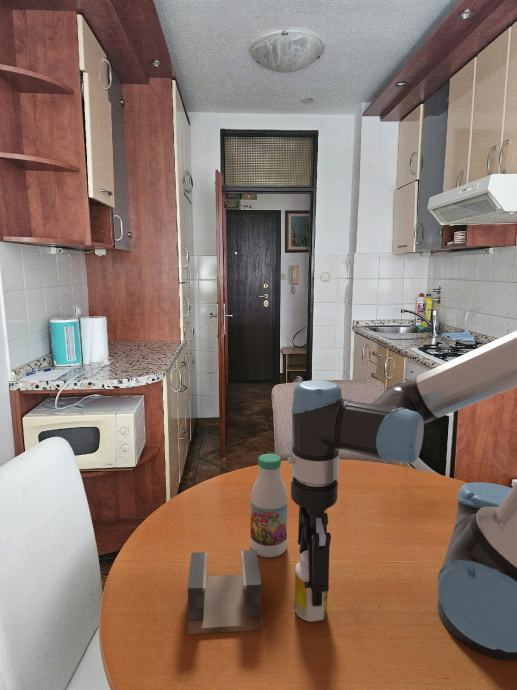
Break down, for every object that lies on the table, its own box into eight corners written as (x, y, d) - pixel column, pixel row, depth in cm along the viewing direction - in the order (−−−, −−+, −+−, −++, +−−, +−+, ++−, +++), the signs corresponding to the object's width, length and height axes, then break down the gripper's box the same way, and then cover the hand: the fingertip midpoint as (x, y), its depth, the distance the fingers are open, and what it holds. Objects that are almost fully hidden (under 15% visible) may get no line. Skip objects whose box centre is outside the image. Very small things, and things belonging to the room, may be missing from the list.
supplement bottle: (313, 629, 70) (314, 572, 68) (287, 610, 74) (288, 556, 72) (333, 611, 74) (335, 556, 72) (308, 593, 78) (309, 542, 76)
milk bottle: (251, 535, 95) (251, 449, 92) (286, 536, 95) (287, 450, 92) (249, 558, 88) (249, 465, 84) (287, 559, 87) (289, 466, 84)
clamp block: (256, 578, 82) (256, 544, 81) (262, 629, 70) (262, 591, 69) (192, 581, 81) (191, 547, 80) (187, 634, 69) (186, 595, 68)
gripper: (283, 453, 79) (281, 568, 83) (301, 508, 61) (298, 652, 64) (323, 452, 79) (320, 566, 83) (354, 506, 61) (347, 649, 65)
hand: (310, 603), depth 74 cm, fingers closed on supplement bottle, 6 cm apart
